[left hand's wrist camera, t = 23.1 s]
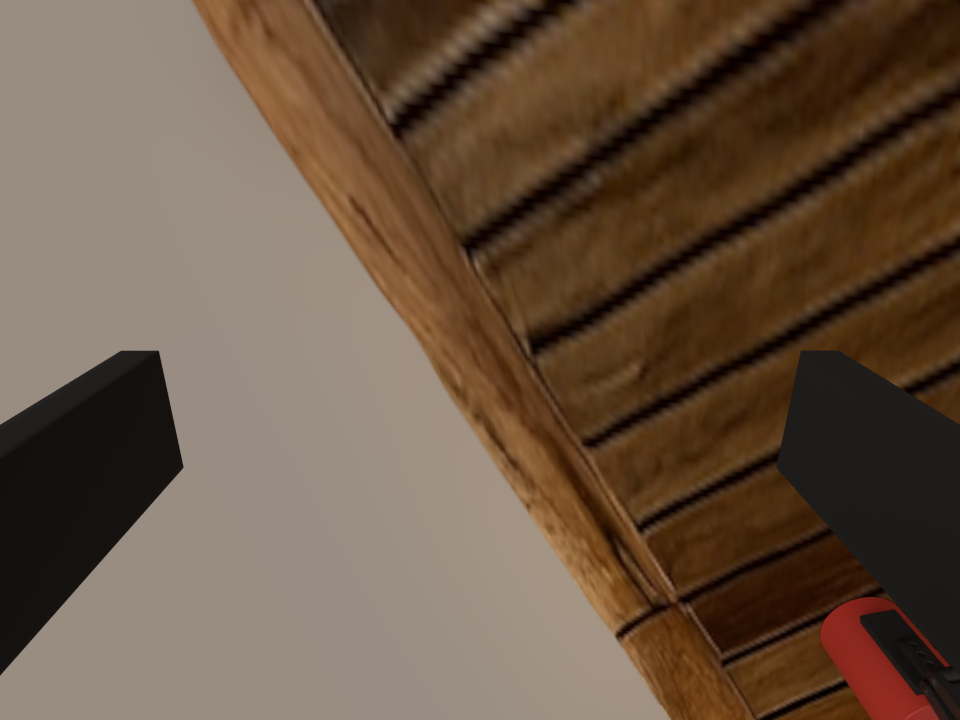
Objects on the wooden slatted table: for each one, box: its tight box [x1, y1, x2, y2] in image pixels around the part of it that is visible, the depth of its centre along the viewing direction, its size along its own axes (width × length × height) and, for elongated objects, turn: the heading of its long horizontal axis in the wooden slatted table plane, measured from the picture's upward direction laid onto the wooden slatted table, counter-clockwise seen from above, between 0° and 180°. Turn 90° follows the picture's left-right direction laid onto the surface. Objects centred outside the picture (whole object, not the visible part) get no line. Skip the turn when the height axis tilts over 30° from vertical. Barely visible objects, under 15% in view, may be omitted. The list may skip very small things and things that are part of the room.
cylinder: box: [820, 597, 950, 720], centre depth 46 cm, size 7×7×10 cm
